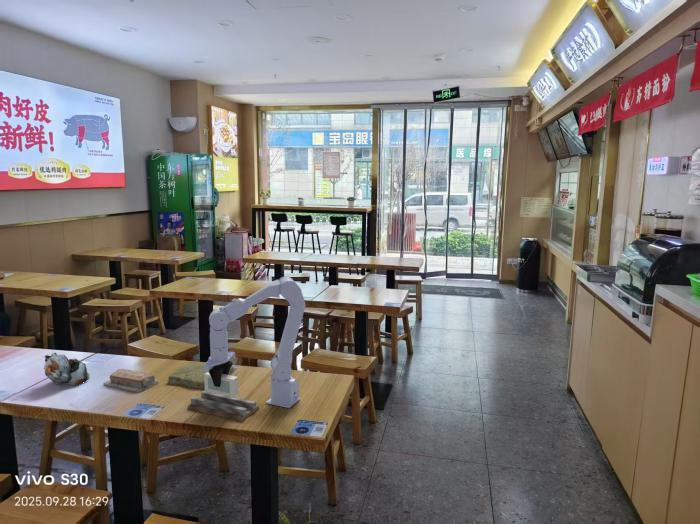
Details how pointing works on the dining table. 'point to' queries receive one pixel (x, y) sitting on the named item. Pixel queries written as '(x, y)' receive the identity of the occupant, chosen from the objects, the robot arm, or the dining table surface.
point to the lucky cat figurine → (65, 370)
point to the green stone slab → (191, 375)
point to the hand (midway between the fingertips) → (220, 384)
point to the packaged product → (131, 380)
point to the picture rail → (223, 405)
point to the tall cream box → (222, 385)
